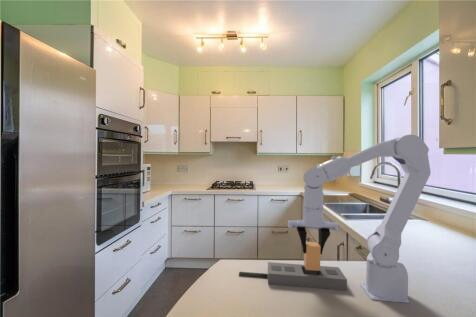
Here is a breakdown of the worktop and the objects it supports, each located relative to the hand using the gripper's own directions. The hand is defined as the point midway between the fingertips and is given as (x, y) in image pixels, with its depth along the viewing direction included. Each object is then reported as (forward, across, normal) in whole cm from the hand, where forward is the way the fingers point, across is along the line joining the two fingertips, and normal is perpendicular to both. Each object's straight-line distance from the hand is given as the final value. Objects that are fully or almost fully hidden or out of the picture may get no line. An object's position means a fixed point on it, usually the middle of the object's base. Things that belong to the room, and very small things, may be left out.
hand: (312, 252), depth 74 cm
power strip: (+8, +7, 0) cm, 11 cm away
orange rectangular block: (+4, 0, 0) cm, 4 cm away
